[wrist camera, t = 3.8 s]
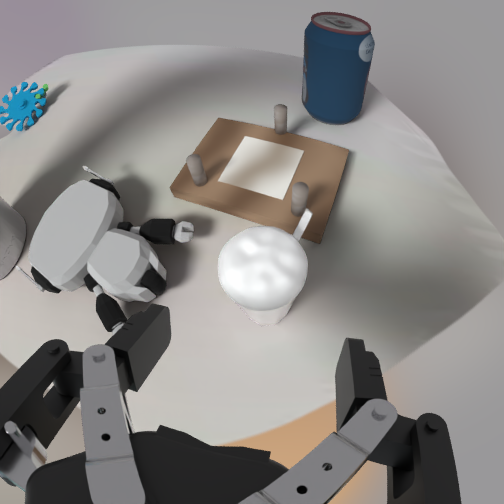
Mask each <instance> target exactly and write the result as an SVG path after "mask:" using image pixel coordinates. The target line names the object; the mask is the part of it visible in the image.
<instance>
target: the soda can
mask: <svg viewBox="0 0 504 504" xmlns="http://www.w3.org/2000/svg"><path fill="white" fill-rule="evenodd" d="M370 31H371V26H370V25H369V24H368V23H367V22H365V21H364V20H362V19H360V18H357V17H354V16H351V15H347V14H342V13H336V12H321V13H316V14H314V15H312V17H311V22H310V23H309V25H308V26H307V28H306V29H305V36H304V37H305V38H304V64H303V86H302V102H303V105H304V107H305V108H306V110H307V111H308V112H309V114H310V115H311V116H312V117H313V118H314V119H316V120H318V121H320V122H322V123H326V124H330V125H342V124H346V123H348V122H350V121H351V120H352V119H354V118H355V117H356V116H357V115H358V114H359V113H360V111H361V107H362V103H363V99H364V94H365V90H366V85H367V80H368V75H369V70H370V65H371V60H372V55H373V50H374V40H373V37H372V34H371V32H370Z"/></svg>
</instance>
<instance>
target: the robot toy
mask: <svg viewBox="0 0 504 504" xmlns="http://www.w3.org/2000/svg"><path fill="white" fill-rule="evenodd" d="M82 167H83V168H84V170H86V171H87V172H90V173H92V174H93V175H95V176H97V177H98V178H100V179H91V180H90V181H86V180H81V181H79V182H77V183H75V184H73V185H71V186H69V187H68V188H67V189H66V190H65V191H64V192H63V193H62V194H60V195H59V196H58V198H57V199H56V200H55V201H54V202H53V203H52V205H51V206H50V207H49V208H48V209H47V210H46V212H45V213H44V215H43V217H42V219H41V221H40V223H39V225H38V226H37V228H36V230H35V233H34V235H33V238H32V241H31V244H30V249H29V256H28V258H29V262H30V263H31V265H32V269H31V273H32V275H33V277H34V279H35V281H36V282H37V283H36V282H35V281H34V280H33V279H32V278H31V277H29V276H28V275H27V274H26V273H25V272H24V271H23V270H22V269H21V268H20V267H18V266H16V269H17V270H19V271H20V272H21V273H23V274H24V275H25V276H26V277H27V278H28V279H29V280H30V281H32V282H33V283H34V284H35V285H36V286H37V288H38V289H39V290H40V291H42V292H44V290H47V291H49V292H54V293H59V292H60V291H62V290H64V291H74V290H76V289H77V288H79V287H81V286H82V285H83V284H86V286H87V288H88V289H89V291H91V292H94V293H95V294H96V296H97V299H96V312H97V314H98V316H99V318H100V319H101V321H102V323H103V325H104V327H105V329H106V330H107V331H108V332H112V333H113V335H114V334H115V333H116V332H117V331H118V330H119V329H120V328H121V327H122V326H123V325H124V324H125V323H126V321H127V318H126V316H125V315H124V313H123V311H122V310H121V308H120V306H119V304H118V303H117V301H116V300H114V299H113V298H111V297H110V296H108V295H107V294H105V293H104V291H103V289H102V287H103V288H104V289H105V290H106V291H107V292H109V293H110V294H112V295H113V296H115V297H117V298H118V299H120V300H123V301H128V302H131V301H135V300H138V301H144V302H149V301H151V300H152V299H154V298H155V297H156V295H154V294H153V293H155V294H161V293H162V292H163V291H164V290H165V288H166V272H167V271H166V269H165V268H164V267H163V266H162V264H161V263H160V262H159V260H158V256H157V254H156V253H155V251H154V250H153V249H152V247H151V246H150V245H149V243H148V242H147V241H146V240H145V239H147V240H148V241H150V242H152V243H154V244H174V243H175V240H177V241H179V242H181V243H182V242H188V241H191V240H192V238H193V232H194V226H193V224H192V223H189V222H184V221H183V222H180V223H178V224H175V221H174V220H173V219H152V220H150V221H148V222H147V223H145V224H143V225H142V226H141V227H133V225H132V224H131V223H130V222H123V212H124V210H123V208H122V206H121V204H120V203H119V199H120V196H119V194H118V192H117V191H116V189H115V188H114V186H113V184H114V183H113V181H111V180H110V179H106V178H104V177H102V176H100V175H99V174H97V173H95V172H94V171H92V170H90V169H89V168H88V167H86V166H82ZM188 231H193V232H191V233H188ZM144 238H145V239H144ZM157 272H158V273H159V274H160V275H161V276H162V277H163V278H164V279H163V278H162V277H161V276H160V275H158V274H157ZM152 292H153V293H152Z"/></svg>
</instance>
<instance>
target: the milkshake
mask: <svg viewBox="0 0 504 504" xmlns="http://www.w3.org/2000/svg"><path fill="white" fill-rule="evenodd" d="M312 215H313V213H312V212H311V211H310V210H309V209H307V208H306V209H305V211H304V213H303V215H302V217H301V219H300V221H299V223H298V225H297V227H296V229H295V231H294V233H293V235H292V236H291V235H290V234H289V233H287V232H285V231H284V230H282V229H279V228H276V227H272V226H257V227H251V228H248V229H245V230H243V231H242V232H240V233H238V234H237V235H235V236H234V237H232V238H231V239H230V240H229V241H228V242H227V243H226V244H225V245H224V247H223V248H222V250H221V252H220V255H219V259H218V276H219V281H220V284H221V286H222V288H223V290H224V291H225V293H226V294H227V295H228V296H229V297H230V298H231V299H232V300H233V301H234V302H235V303H236V304H237V305H238V306H239V307H240V309H241V310H242V311H243V312H244V313H245V314H246V316H247V317H248V318H249V319H250V320H252V321H254V322H255V323H257V324H258V325H260V326H269V325H276V324H277V323H278V322H279V321H280V320H282V319H283V318H284V317H285V316H286V314H287V313H288V311H289V309H290V307H291V305H292V303H293V301H294V300H295V298H296V297H297V295H298V294H299V293H300V291H301V290H302V288H303V286H304V284H305V281H306V277H307V271H308V261H307V256H306V254H305V251H304V250H303V248H302V246H301V245H300V244H299V240H300V238H301V236H302V234H303V232H304V231H305V229H306V227H307V225H308V223H309V221H310V219H311V217H312Z"/></svg>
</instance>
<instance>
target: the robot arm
mask: <svg viewBox="0 0 504 504" xmlns="http://www.w3.org/2000/svg"><path fill="white" fill-rule="evenodd" d="M25 237H26V223H25V220H24V218H23V217H22V216H21V215H20V214H19V213H18V212H17V211H15V210H14V209H13V208H12V207H11V206H10V205H9V204H8V203H7V202H5V201H4V199H2V198H1V197H0V280H1V279H2V278H4V277H5V276H6V275H7V274H8V273H9V272H10V271H11V269H12V268H13V267H14V265H15V264H16V262H17V260H18V258H19V256H20V254H21V252H22V248H23V245H24V242H25ZM170 340H171V325H170V312H169V308H168V307H166V306H161V305H157V304H151V305H150V306H149V307H148V308H147V310H146V311H145V312H142V311H141V312H139V313H137V314H135V315H133V316H131V317H130V318H129V319H128V320H127V321H126V323H125V324H124V325H123V326H122V327H121V328H120V329H119V330H118V331H117V332H116V333H115V334H114V335H113V336H112V337H111V338H110V339H109V340H108V341H107V343H106V344H105V345H102V344H98V345H93V346H91V347H89V348H87V349H86V350H85V351H84V352H76V351H69V348H68V345H67V343H66V342H65V341H63V340H59V339H54V340H50V341H48V342H46V343H44V344H43V345H42V346H41V347H40V348H39V349H38V350H37V351H36V352H35V353H34V354H33V355H32V356H31V357H30V358H29V359H28V360H27V361H26V362H25V363H24V364H23V365H22V366H21V367H20V368H19V369H18V371H17V372H16V373H15V374H14V375H13V376H12V377H11V378H10V379H9V380H8V381H7V382H6V383H5V384H4V385H3V387H2V388H1V389H0V477H1V478H2V479H3V480H4V481H6V482H7V483H8V484H9V485H12V486H17V487H19V488H20V489H22V490H23V491H24V492H25V504H328V503H329V502H330V501H331V500H332V499H333V498H334V497H335V496H336V495H337V494H338V493H339V491H340V490H341V489H342V488H343V487H344V486H345V485H346V484H347V483H348V482H349V481H350V480H351V479H352V477H353V476H354V475H355V474H356V473H357V472H358V471H359V470H360V468H361V467H362V466H363V465H364V464H365V463H366V461H367V460H369V461H373V462H376V463H379V464H383V465H387V504H461V497H460V490H459V483H458V477H457V471H456V465H455V460H454V455H453V450H452V446H451V441H450V437H449V432H448V428H447V424H446V422H445V421H444V420H443V419H442V418H441V417H440V416H438V415H436V414H433V413H425V414H423V415H421V416H420V417H419V418H418V419H417V420H414V419H411V418H407V417H403V416H401V415H398V414H397V410H396V408H395V407H394V406H393V405H392V404H391V403H390V402H388V401H387V396H386V391H385V386H384V382H383V377H382V372H381V370H380V364H379V360H378V358H377V357H376V356H375V354H374V353H373V352H369V351H365V345H364V341H363V340H362V339H353V338H346V339H345V342H344V345H343V348H342V351H341V354H340V357H339V360H338V364H337V367H336V374H335V382H336V414H337V415H336V419H337V433H336V432H333V433H331V434H330V435H329V436H328V437H327V438H326V439H324V440H323V441H322V442H321V443H320V444H319V445H318V446H317V447H316V448H315V449H314V450H312V451H311V452H310V453H309V454H308V455H307V456H305V457H304V458H303V459H302V460H301V461H299V462H298V463H297V464H296V465H294V466H293V467H292V468H291V469H290V470H289V469H287V468H286V467H285V466H283V465H281V464H280V463H278V462H276V461H274V460H271V459H269V457H270V453H271V452H270V451H264V450H258V449H252V448H247V447H225V446H210V445H208V444H206V443H204V442H202V441H200V440H198V439H196V438H194V437H192V436H191V435H189V434H187V433H185V432H181V431H178V430H175V429H171V428H168V427H165V426H162V425H160V426H159V428H158V430H157V431H143V432H136V433H135V431H134V428H133V424H132V420H131V416H130V412H129V408H128V403H127V399H126V395H125V393H126V391H127V390H128V389H130V390H133V391H136V392H138V390H139V389H140V387H141V386H142V384H143V383H144V381H145V380H146V378H147V377H148V375H149V374H150V372H151V371H152V369H153V368H154V366H155V365H156V363H157V362H158V360H159V359H160V357H161V356H162V355H163V353H164V352H165V350H166V349H167V347H168V346H169V343H170ZM52 382H53V383H54V386H53V387H52V388H51V389H50V391H49V392H48V393H47V394H46V396H45V397H44V398H43V394H44V392H45V390H46V389H47V388H48V386H49V385H50V384H51V383H52ZM79 401H81V415H82V426H83V435H84V442H85V450H86V451H85V452H82V453H79V454H76V455H73V456H70V457H67V458H64V459H61V460H58V461H55V462H51V463H48V464H46V460H47V452H46V449H47V448H48V446H49V444H50V443H51V441H52V440H53V439H54V437H55V435H56V434H57V433H58V431H59V430H60V428H61V427H62V425H63V424H64V423H65V421H66V419H67V418H68V417H69V415H70V414H71V413H72V411H73V410H74V408H75V407H76V405H77V404H78V403H79Z"/></svg>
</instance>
